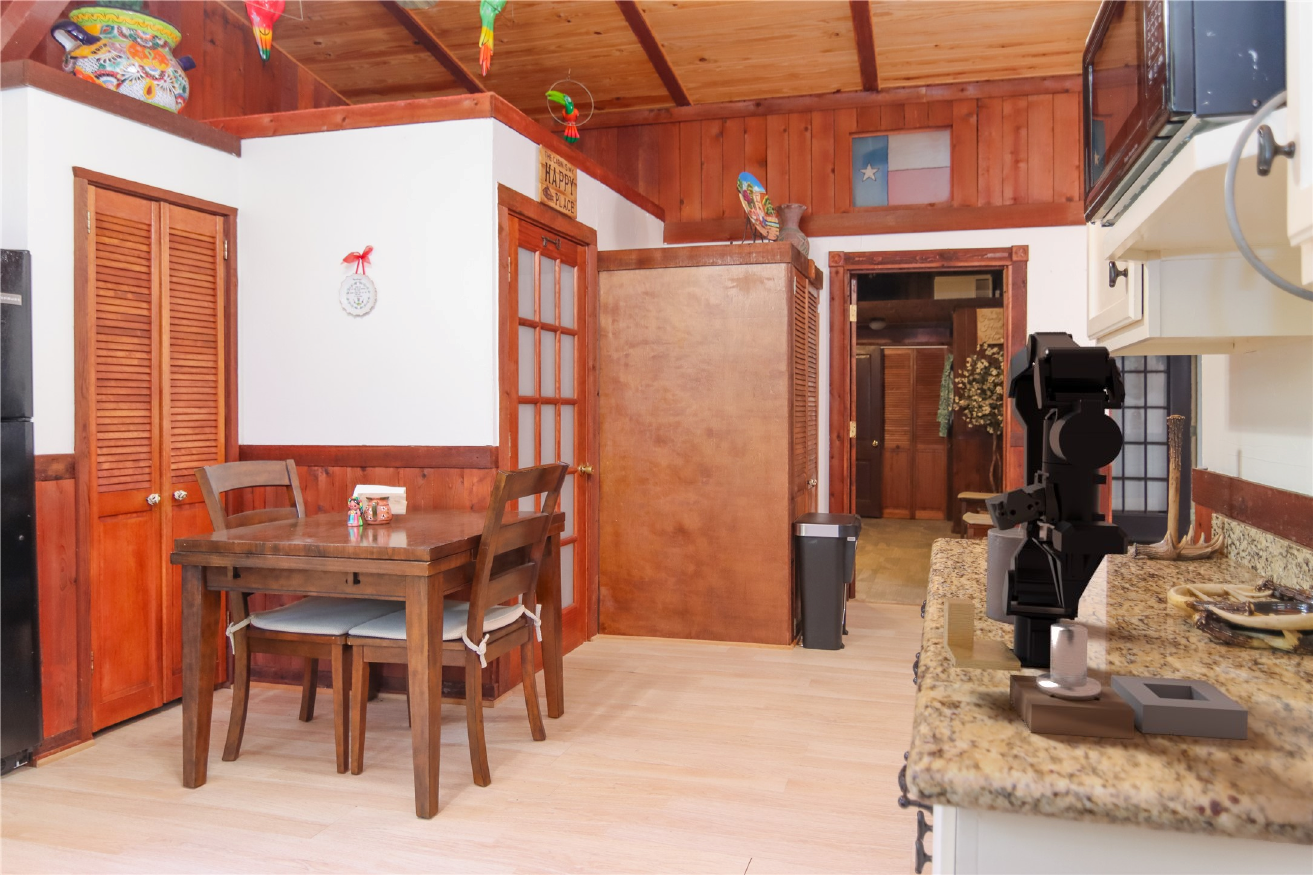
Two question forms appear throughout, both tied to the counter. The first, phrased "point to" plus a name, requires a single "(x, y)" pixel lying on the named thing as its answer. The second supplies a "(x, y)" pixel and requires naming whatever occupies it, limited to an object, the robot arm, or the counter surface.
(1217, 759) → the counter surface
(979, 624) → the counter surface
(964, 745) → the counter surface
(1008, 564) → the pillar candle
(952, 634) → the brass key
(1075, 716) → the walnut socket block
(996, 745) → the counter surface
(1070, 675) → the steel pin
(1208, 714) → the grey square collar
